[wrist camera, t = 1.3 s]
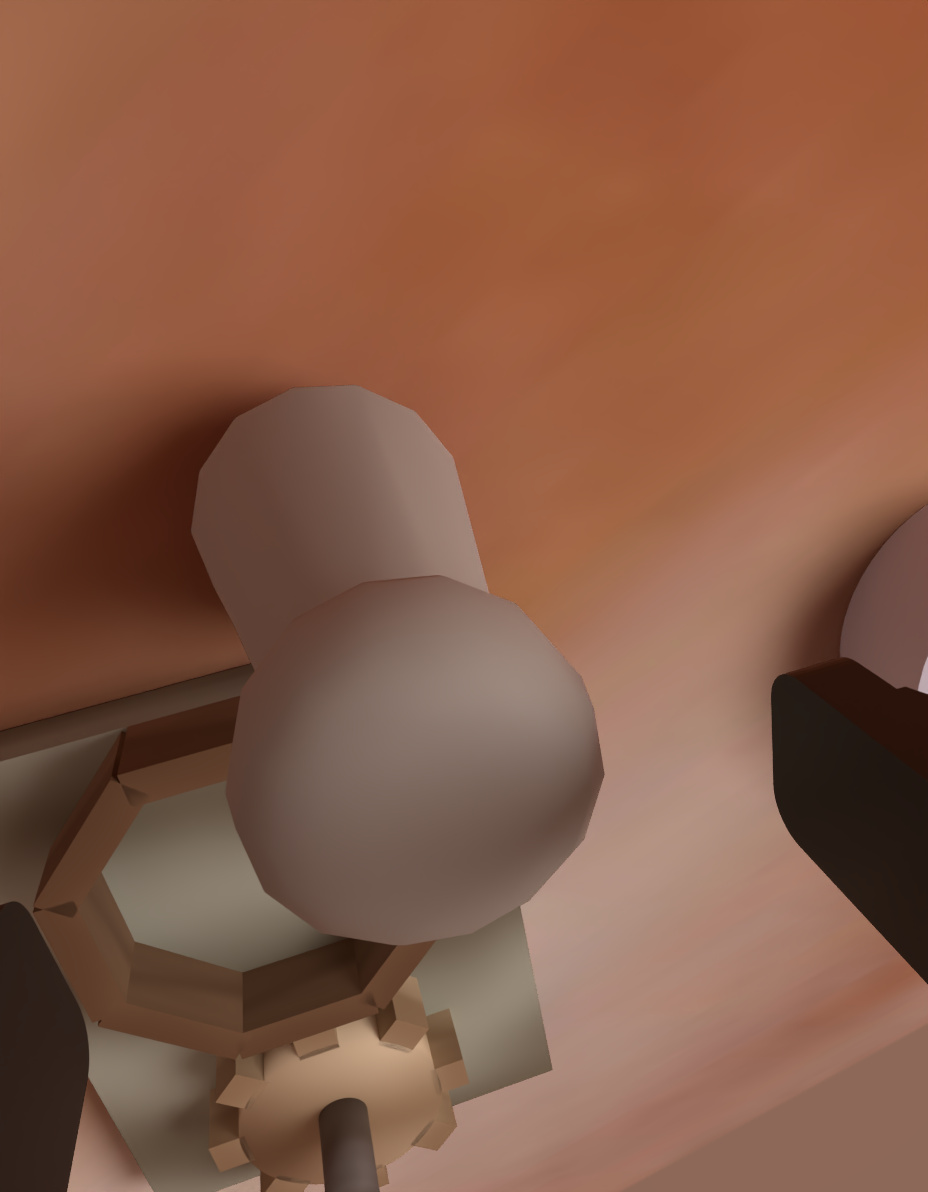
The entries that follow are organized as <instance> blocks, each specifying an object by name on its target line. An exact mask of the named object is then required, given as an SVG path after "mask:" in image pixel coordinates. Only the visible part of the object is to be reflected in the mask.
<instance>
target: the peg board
mask: <svg viewBox="0 0 928 1192" xmlns="http://www.w3.org/2000/svg"><path fill="white" fill-rule="evenodd" d="M253 673H254V668H253V666H252V664H248V665H244V666H241V667H237V668H233V669H230V670H226V671H222V672H219V673H215V674H211V675H208V676H204V677H200V678H196V679H193V680H189V681H185V682H182V683H178V684H174V685H171V686H167V687H163V688H160V689H156V690H152V691H148V692H145V693H141V694H137V695H134V696H130V697H126V698H123V699H119V700H115V701H112V702H108V703H104V704H100V705H97V706H93V707H89V708H86V709H82V710H78V711H75V712H71V713H67V714H64V715H60V716H56V717H52V718H49V719H45V720H41V721H38V722H34V723H30V724H27V725H23V726H19V727H16V728H12V729H8V730H4V731H1V732H0V905H1V904H5V903H8V902H11V901H16V902H19V903H21V904H22V905H23V906H24V907H25V908H26V909H27V910H28V911H29V913H30V914H31V916H32V918H33V920H34V922H35V923H36V925H37V927H38V929H39V931H40V933H41V935H42V937H43V939H44V940H45V942H46V944H47V946H48V948H49V950H50V952H51V954H52V956H53V958H54V959H55V961H56V963H57V965H58V967H59V969H60V971H61V973H62V975H63V976H64V978H65V980H66V982H67V984H68V986H69V988H70V990H71V992H72V993H73V995H74V997H75V999H76V1001H77V1003H78V1005H79V1007H80V1009H81V1012H82V1015H83V1018H84V1021H85V1025H86V1030H87V1035H88V1043H89V1073H88V1077H89V1079H90V1081H91V1083H92V1084H93V1086H94V1088H95V1090H96V1091H97V1093H98V1095H99V1097H100V1098H101V1100H102V1102H103V1104H104V1105H105V1107H106V1109H107V1111H108V1112H109V1114H110V1116H111V1118H112V1119H113V1121H114V1123H115V1125H116V1126H117V1128H118V1130H119V1132H120V1133H121V1135H122V1137H123V1139H124V1140H125V1142H126V1144H127V1146H128V1147H129V1149H130V1151H131V1153H132V1154H133V1156H134V1158H135V1160H136V1161H137V1163H138V1165H139V1167H140V1168H141V1170H142V1172H143V1174H144V1175H145V1177H146V1179H147V1181H148V1182H149V1184H150V1186H151V1188H152V1189H153V1191H154V1192H215V1191H218V1190H221V1189H224V1188H226V1187H229V1186H232V1185H235V1184H237V1183H240V1182H243V1181H246V1180H249V1179H251V1178H254V1177H257V1176H260V1181H261V1192H303V1191H304V1190H305V1188H306V1187H307V1186H308V1184H324V1186H325V1192H380V1191H379V1187H381V1186H384V1185H386V1184H389V1181H388V1175H387V1168H386V1165H388V1164H390V1163H391V1162H393V1161H394V1160H396V1159H398V1158H399V1157H401V1156H402V1155H403V1154H405V1153H406V1152H407V1151H409V1150H410V1149H411V1148H412V1147H413V1146H418V1147H422V1148H427V1149H432V1150H436V1151H437V1150H438V1149H439V1148H440V1147H441V1145H442V1144H443V1143H444V1142H445V1140H446V1139H447V1138H448V1137H449V1135H450V1134H451V1133H452V1132H453V1131H454V1129H455V1128H456V1127H457V1124H456V1120H455V1116H454V1112H453V1108H452V1106H454V1105H457V1104H459V1103H462V1102H465V1101H468V1100H471V1099H473V1098H476V1097H479V1096H482V1095H484V1094H487V1093H490V1092H493V1091H496V1090H498V1089H501V1088H504V1087H507V1086H509V1085H512V1084H515V1083H518V1082H521V1081H523V1080H526V1079H529V1078H532V1077H534V1076H537V1075H540V1074H543V1073H545V1072H548V1071H551V1070H552V1065H551V1060H550V1055H549V1050H548V1045H547V1040H546V1035H545V1030H544V1025H543V1020H542V1015H541V1010H540V1004H539V999H538V994H537V989H536V984H535V979H534V974H533V969H532V964H531V959H530V954H529V949H528V944H527V939H526V934H525V929H524V924H523V919H522V914H521V909H520V906H519V907H517V908H515V909H514V910H512V911H510V912H508V913H507V914H505V915H503V916H501V917H500V918H498V919H496V920H494V921H493V922H491V923H489V924H487V925H486V926H484V927H482V928H480V929H479V930H477V931H475V932H473V933H472V934H466V935H461V936H455V937H449V938H444V939H438V940H432V941H427V942H421V943H415V944H409V945H389V944H383V943H377V942H371V941H365V940H359V939H354V938H348V937H342V936H336V935H330V934H324V933H320V932H318V931H317V930H316V929H314V928H313V927H312V926H310V925H309V924H308V923H306V922H305V921H303V920H302V919H301V918H299V917H298V916H297V915H295V914H294V913H293V912H291V911H290V910H288V909H287V908H286V907H284V906H283V905H282V904H280V903H279V902H277V901H276V900H275V899H273V898H272V897H271V896H269V895H268V894H267V893H265V892H264V890H263V888H262V886H261V884H260V881H259V879H258V877H257V875H256V873H255V870H254V868H253V866H252V864H251V862H250V859H249V857H248V855H247V853H246V851H245V848H244V846H243V844H242V842H241V840H240V837H239V835H238V833H237V831H236V828H235V825H234V822H233V818H232V815H231V811H230V808H229V804H228V801H227V798H226V794H225V791H226V784H227V776H228V769H229V762H230V755H231V749H232V743H233V737H234V731H235V725H236V719H237V713H238V707H239V701H240V695H241V689H242V688H243V686H244V685H245V683H246V682H247V681H248V679H249V678H250V677H251V675H252V674H253Z"/></svg>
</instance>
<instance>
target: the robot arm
mask: <svg viewBox="0 0 928 1192" xmlns="http://www.w3.org/2000/svg"><path fill="white" fill-rule="evenodd" d="M771 707H772V746H773V785H774V794H775V799H776V803H777V807H778V809H779V812H780V815H781V817H782V820H783V822H784V824H785V826H786V828H787V829H788V831H789V833H790V834H791V836H792V837H793V839H794V840H795V841H796V843H797V844H798V845H799V846H800V847H801V848H802V849H803V850H804V851H805V853H806V854H807V855H808V856H809V857H810V858H811V859H812V860H813V861H814V862H815V863H816V864H817V865H818V867H819V868H820V869H821V870H822V871H823V872H824V873H825V874H826V875H827V876H828V877H829V878H830V879H831V881H832V882H833V883H834V884H835V885H836V886H837V887H838V888H839V889H840V890H841V891H842V892H843V893H844V895H845V896H846V897H847V898H848V899H849V900H850V901H851V902H852V903H853V904H854V905H855V906H856V907H857V909H858V910H859V911H860V912H861V913H862V914H863V915H864V916H865V917H866V918H867V919H868V920H869V921H870V923H871V924H872V925H873V926H874V927H875V928H876V929H877V930H878V931H879V932H880V933H881V934H882V935H883V937H884V938H885V939H886V940H887V941H888V942H889V943H890V944H891V945H892V946H893V947H894V948H895V949H896V951H897V952H898V953H899V954H900V955H901V956H902V957H903V958H904V959H905V960H906V961H907V962H908V963H909V965H910V966H911V967H912V968H913V969H914V970H915V971H916V972H917V973H918V974H919V975H920V976H921V977H922V979H923V980H924V981H925V982H926V983H927V984H928V694H926V693H923V692H920V691H917V690H914V689H911V688H908V687H902V688H898V689H896V688H895V687H893V686H892V685H891V684H889V683H888V682H886V681H885V680H883V679H882V678H880V677H879V676H877V675H876V674H874V673H873V672H871V671H870V670H868V669H867V668H865V667H864V666H862V665H861V664H859V663H858V662H856V661H855V660H853V659H850V658H847V657H840V658H836V659H833V660H829V661H826V662H823V663H819V664H816V665H812V666H809V667H806V668H802V669H799V670H796V671H792V672H789V673H786V674H782V675H780V676H778V677H777V678H776V679H775V681H774V683H773V686H772V691H771ZM88 1073H89V1043H88V1035H87V1030H86V1025H85V1021H84V1018H83V1015H82V1012H81V1009H80V1007H79V1005H78V1003H77V1001H76V999H75V997H74V995H73V993H72V992H71V990H70V988H69V986H68V984H67V982H66V980H65V978H64V976H63V975H62V973H61V971H60V969H59V967H58V965H57V963H56V961H55V959H54V958H53V956H52V954H51V952H50V950H49V948H48V946H47V944H46V942H45V940H44V939H43V937H42V935H41V933H40V931H39V929H38V927H37V925H36V923H35V922H34V920H33V918H32V916H31V914H30V913H29V911H28V910H27V909H26V908H25V907H24V906H23V905H22V904H21V903H19V902H16V901H11V902H8V903H5V904H1V905H0V1192H67V1188H68V1183H69V1177H70V1172H71V1166H72V1161H73V1156H74V1150H75V1145H76V1139H77V1134H78V1129H79V1123H80V1118H81V1112H82V1107H83V1102H84V1096H85V1091H86V1085H87V1080H88Z"/></svg>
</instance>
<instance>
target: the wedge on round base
mask: <svg viewBox="0 0 928 1192" xmlns="http://www.w3.org/2000/svg"><path fill="white" fill-rule="evenodd" d="M840 657H847V658H850V659H853V660H855V661H856V662H858V663H859V664H861V665H862V666H864V667H865V668H867V669H868V670H870V671H871V672H873V673H874V674H876V675H877V676H879V677H880V678H882V679H883V680H885V681H886V682H888V683H889V684H891V685H892V686H893V687H895V688H896V689H898V688H902V687H908V688H911V689H914V690H917V691H920V692H923V693H926V694H928V504H927V505H926V506H924V507H923V508H922V509H920V510H919V511H917V512H916V513H915V514H914V515H913V516H911V517H910V518H909V519H908V520H907V521H906V522H905V523H904V524H902V525H901V526H900V527H899V528H898V529H897V530H896V531H895V532H894V534H893V535H892V536H891V537H890V538H889V539H888V540H887V541H886V542H885V543H884V545H883V546H882V547H881V549H880V550H879V551H878V553H877V554H876V555H875V557H874V558H873V559H872V561H871V562H870V564H869V565H868V567H867V569H866V570H865V572H864V574H863V575H862V577H861V579H860V581H859V583H858V585H857V587H856V589H855V591H854V593H853V596H852V598H851V601H850V604H849V606H848V609H847V612H846V615H845V619H844V624H843V629H842V633H841V643H840Z"/></svg>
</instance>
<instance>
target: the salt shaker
mask: <svg viewBox="0 0 928 1192" xmlns="http://www.w3.org/2000/svg"><path fill="white" fill-rule="evenodd" d="M191 534H192V536H193V538H194V541H195V543H196V546H197V548H198V550H199V553H200V555H201V558H202V560H203V562H204V565H205V567H206V570H207V572H208V574H209V577H210V579H211V582H212V584H213V586H214V588H215V590H216V592H217V594H218V596H219V598H220V600H221V602H222V604H223V605H224V607H225V609H226V611H227V613H228V615H229V617H230V619H231V621H232V623H233V625H234V627H235V629H236V631H237V634H238V636H239V638H240V640H241V642H242V645H243V647H244V649H245V651H246V653H247V655H248V658H249V660H250V662H251V664H252V666H253V668H254V673H253V674H252V675H251V677H250V678H249V679H248V681H247V682H246V683H245V685H244V686H243V688H242V689H241V695H240V701H239V707H238V713H237V719H236V725H235V731H234V737H233V743H232V749H231V755H230V762H229V769H228V776H227V784H226V791H225V794H226V798H227V801H228V804H229V808H230V811H231V815H232V818H233V822H234V825H235V828H236V831H237V833H238V835H239V837H240V840H241V842H242V844H243V846H244V848H245V851H246V853H247V855H248V857H249V859H250V862H251V864H252V866H253V868H254V870H255V873H256V875H257V877H258V879H259V881H260V884H261V886H262V888H263V890H264V892H265V893H267V894H268V895H269V896H271V897H272V898H273V899H275V900H276V901H277V902H279V903H280V904H282V905H283V906H284V907H286V908H287V909H288V910H290V911H291V912H293V913H294V914H295V915H297V916H298V917H299V918H301V919H302V920H303V921H305V922H306V923H308V924H309V925H310V926H312V927H313V928H314V929H316V930H317V931H318V932H320V933H324V934H330V935H336V936H342V937H348V938H354V939H359V940H365V941H371V942H377V943H383V944H389V945H409V944H415V943H421V942H427V941H432V940H438V939H444V938H449V937H455V936H461V935H466V934H472V933H473V932H475V931H477V930H479V929H480V928H482V927H484V926H486V925H487V924H489V923H491V922H493V921H494V920H496V919H498V918H500V917H501V916H503V915H505V914H507V913H508V912H510V911H512V910H514V909H515V908H517V907H519V906H521V905H522V904H524V903H526V902H528V901H529V900H530V899H531V898H532V897H533V896H534V895H535V894H536V893H537V892H538V890H539V889H540V888H541V887H542V886H543V885H544V884H545V883H546V881H547V880H548V879H549V878H550V877H551V876H552V875H553V874H554V873H555V871H556V870H557V869H558V868H559V867H560V866H561V865H562V864H563V862H564V861H565V860H566V859H567V858H568V857H569V856H570V855H571V853H572V852H573V851H574V850H575V849H576V848H577V847H578V846H579V845H580V843H581V842H582V841H583V840H584V838H585V834H586V831H587V828H588V825H589V822H590V819H591V816H592V812H593V809H594V806H595V803H596V800H597V797H598V793H599V790H600V787H601V784H602V781H603V778H604V769H603V762H602V756H601V750H600V744H599V738H598V731H597V725H596V719H595V713H594V708H593V706H592V703H591V700H590V698H589V695H588V692H587V690H586V687H585V685H584V682H583V679H582V677H581V676H580V674H579V673H578V672H577V671H576V670H575V669H574V668H573V667H572V665H571V664H570V663H569V662H568V661H567V660H566V659H565V658H564V657H563V655H562V654H561V653H560V652H559V651H558V650H557V649H556V648H555V647H554V645H553V644H552V643H551V642H550V641H549V640H548V639H547V638H546V636H545V635H544V634H543V633H542V632H541V631H540V630H539V629H538V628H537V626H536V625H535V624H534V623H533V622H532V621H531V620H530V619H529V618H528V616H527V615H526V614H525V613H524V612H523V611H522V610H521V609H520V607H519V606H518V605H517V604H516V603H513V602H511V601H508V600H506V599H503V598H500V597H498V596H495V595H492V594H490V593H489V592H488V588H487V584H486V580H485V576H484V573H483V569H482V565H481V561H480V557H479V554H478V550H477V546H476V542H475V538H474V535H473V531H472V527H471V523H470V519H469V516H468V512H467V508H466V504H465V501H464V497H463V493H462V489H461V485H460V482H459V478H458V474H457V470H456V466H455V463H454V459H453V456H452V455H451V454H450V453H449V452H448V450H447V449H446V448H445V447H444V446H443V444H442V443H441V442H440V441H439V440H438V438H437V437H436V436H435V435H434V434H433V432H432V431H431V430H430V429H429V428H428V426H427V425H426V424H425V423H424V422H423V420H422V419H421V418H420V417H419V416H418V414H417V413H416V412H415V411H413V410H411V409H408V408H406V407H404V406H402V405H400V404H397V403H395V402H393V401H391V400H389V399H386V398H384V397H382V396H380V395H377V394H375V393H373V392H371V391H369V390H366V389H364V388H362V387H360V386H357V385H342V386H318V387H294V388H291V389H290V390H288V391H286V392H284V393H282V394H280V395H278V396H276V397H274V398H272V399H270V400H268V401H266V402H265V403H263V404H261V405H259V406H257V407H255V408H253V409H251V410H249V411H247V412H245V413H243V414H241V415H239V416H238V417H236V418H235V419H234V420H233V422H232V423H231V425H230V426H229V428H228V429H227V431H226V432H225V434H224V435H223V437H222V438H221V440H220V441H219V443H218V444H217V446H216V447H215V449H214V450H213V452H212V453H211V455H210V456H209V458H208V459H207V461H206V462H205V464H204V465H203V467H202V468H201V470H200V471H199V478H198V485H197V492H196V499H195V506H194V513H193V520H192V527H191Z"/></svg>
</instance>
